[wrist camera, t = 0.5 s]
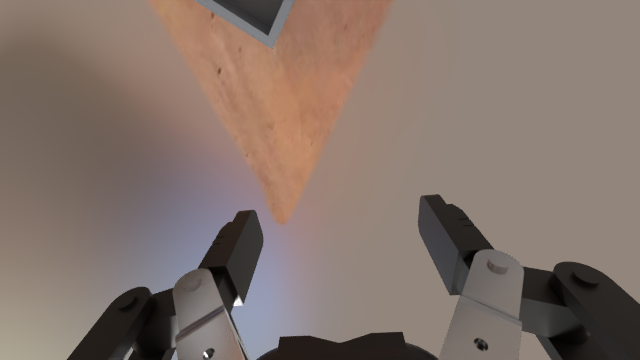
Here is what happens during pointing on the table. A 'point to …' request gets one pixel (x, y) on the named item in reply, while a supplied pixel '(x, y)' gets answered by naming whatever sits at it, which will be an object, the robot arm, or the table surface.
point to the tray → (253, 16)
